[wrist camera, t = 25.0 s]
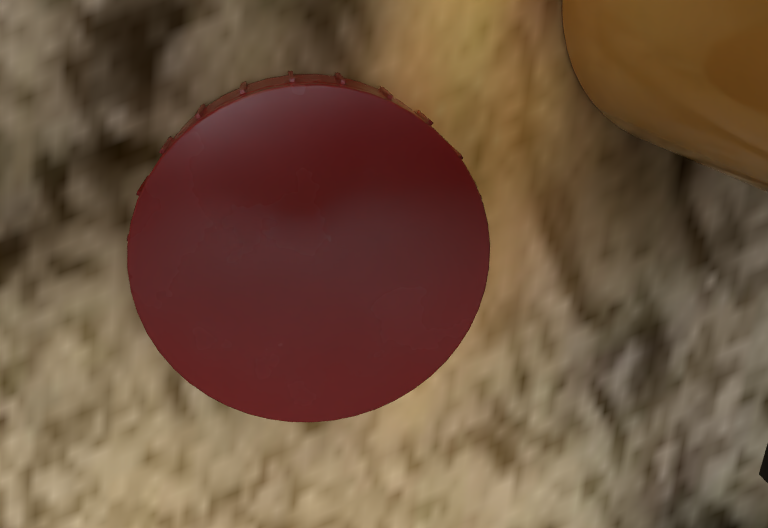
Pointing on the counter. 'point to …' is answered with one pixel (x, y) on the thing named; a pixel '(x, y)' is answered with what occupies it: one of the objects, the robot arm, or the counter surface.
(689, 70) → the jam jar
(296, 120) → the jam lid
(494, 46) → the counter surface
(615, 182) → the counter surface
